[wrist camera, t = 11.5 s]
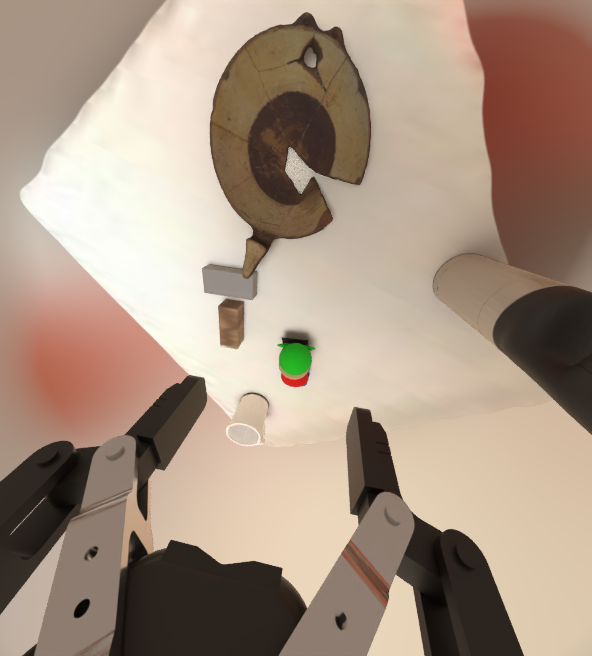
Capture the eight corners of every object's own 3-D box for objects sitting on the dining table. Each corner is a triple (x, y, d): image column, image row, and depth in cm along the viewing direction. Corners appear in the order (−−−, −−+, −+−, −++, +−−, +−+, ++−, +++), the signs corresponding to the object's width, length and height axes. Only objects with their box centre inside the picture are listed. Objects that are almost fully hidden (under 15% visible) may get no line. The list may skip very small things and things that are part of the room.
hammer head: (257, 271, 44) (252, 275, 42) (256, 294, 47) (252, 300, 44) (209, 264, 45) (202, 268, 42) (211, 287, 47) (204, 292, 45)
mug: (234, 400, 64) (218, 431, 55) (253, 386, 60) (241, 418, 51) (261, 421, 67) (250, 454, 58) (281, 409, 63) (273, 443, 54)
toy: (314, 363, 58) (316, 337, 45) (311, 393, 54) (313, 374, 41) (282, 360, 59) (276, 333, 46) (277, 389, 55) (269, 369, 42)
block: (237, 309, 44) (237, 349, 49) (243, 301, 48) (243, 339, 53) (218, 306, 45) (220, 346, 50) (226, 298, 48) (227, 336, 53)
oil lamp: (401, 142, 32) (421, 126, 25) (273, 283, 45) (264, 297, 38) (289, -14, 26) (276, -88, 20) (180, 198, 40) (150, 197, 33)
